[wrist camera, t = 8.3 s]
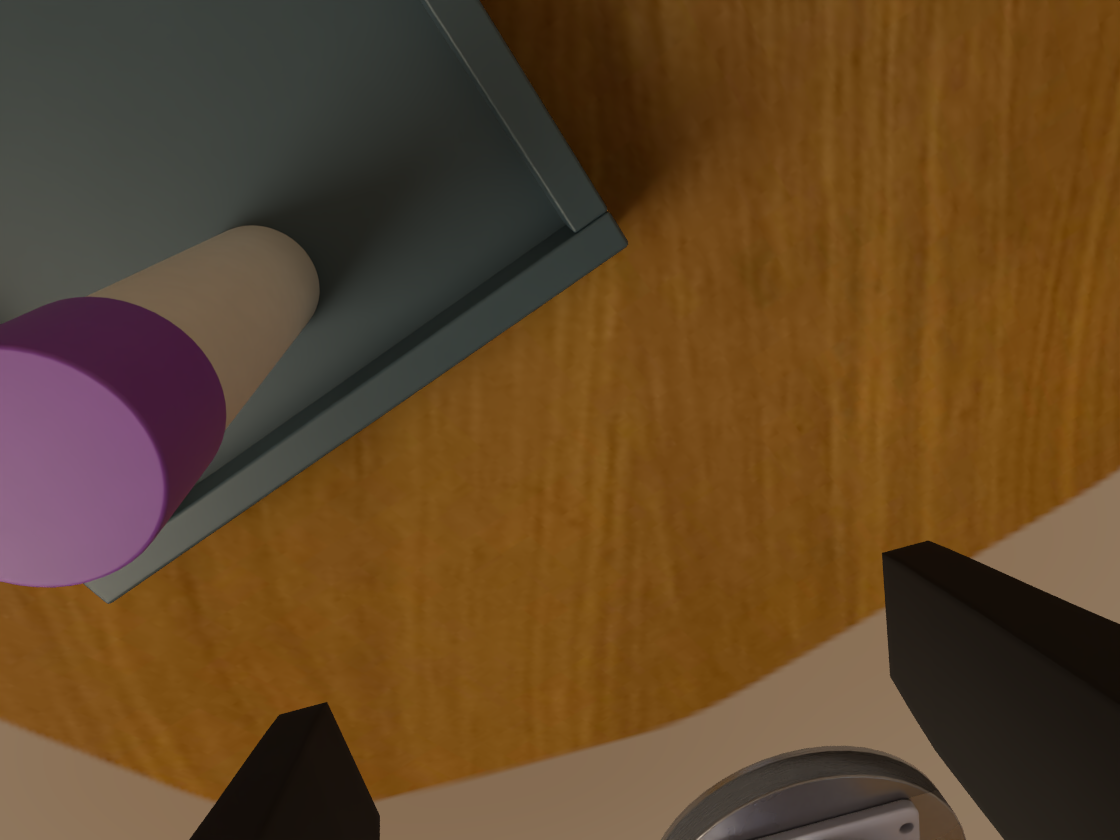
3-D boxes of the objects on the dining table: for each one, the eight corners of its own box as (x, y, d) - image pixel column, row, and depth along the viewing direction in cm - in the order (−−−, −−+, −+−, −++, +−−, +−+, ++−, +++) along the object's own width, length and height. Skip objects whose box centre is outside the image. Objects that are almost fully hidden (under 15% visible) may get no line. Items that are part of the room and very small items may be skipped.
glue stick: (342, 327, 16) (210, 552, 8) (223, 357, 16) (-39, 616, 8) (298, 206, 15) (94, 312, 7) (172, 237, 15) (-196, 384, 7)
